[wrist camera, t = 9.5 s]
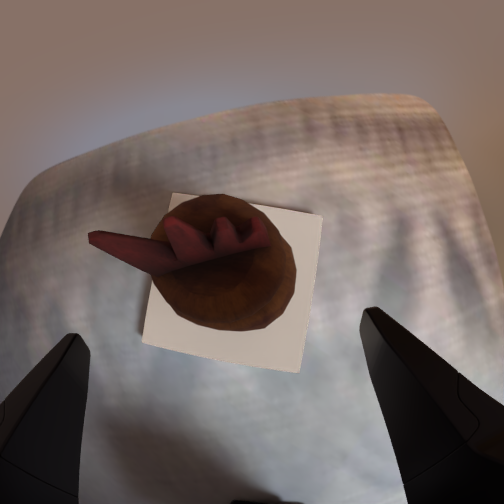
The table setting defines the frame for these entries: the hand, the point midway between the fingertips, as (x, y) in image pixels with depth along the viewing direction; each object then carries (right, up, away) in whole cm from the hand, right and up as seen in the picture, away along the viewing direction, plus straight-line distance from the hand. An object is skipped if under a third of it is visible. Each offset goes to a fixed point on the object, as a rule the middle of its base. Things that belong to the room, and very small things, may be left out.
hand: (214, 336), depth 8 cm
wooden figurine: (0, 0, +12) cm, 12 cm away
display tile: (0, 0, +13) cm, 13 cm away
